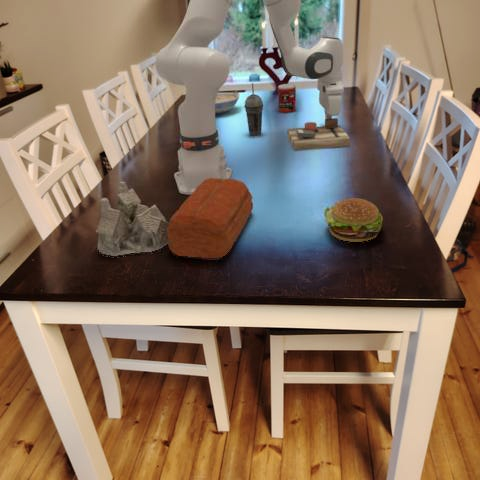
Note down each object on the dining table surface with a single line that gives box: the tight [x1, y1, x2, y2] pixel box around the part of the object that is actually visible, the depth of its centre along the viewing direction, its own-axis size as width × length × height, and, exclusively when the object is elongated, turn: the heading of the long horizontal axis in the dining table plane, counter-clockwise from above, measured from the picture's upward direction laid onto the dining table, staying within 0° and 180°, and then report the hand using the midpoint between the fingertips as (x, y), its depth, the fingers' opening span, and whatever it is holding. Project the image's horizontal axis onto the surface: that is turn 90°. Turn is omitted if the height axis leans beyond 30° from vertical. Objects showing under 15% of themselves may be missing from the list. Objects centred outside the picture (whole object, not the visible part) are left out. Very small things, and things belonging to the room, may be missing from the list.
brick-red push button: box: [304, 121, 318, 132], centre depth 173 cm, size 4×4×2 cm
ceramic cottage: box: [95, 181, 170, 256], centre depth 112 cm, size 16×16×15 cm
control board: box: [286, 124, 351, 152], centre depth 171 cm, size 16×20×4 cm
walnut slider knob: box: [324, 117, 339, 128], centre depth 173 cm, size 2×4×3 cm, turn 93°
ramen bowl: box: [215, 89, 246, 115], centre depth 214 cm, size 25×23×8 cm
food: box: [323, 197, 383, 243], centre depth 112 cm, size 14×14×8 cm
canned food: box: [277, 83, 297, 114], centre depth 207 cm, size 8×8×11 cm
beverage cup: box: [244, 82, 264, 138], centre depth 178 cm, size 7×7×20 cm
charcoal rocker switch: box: [296, 130, 315, 137], centre depth 166 cm, size 4×6×1 cm, turn 93°
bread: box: [167, 178, 254, 258], centre depth 115 cm, size 16×27×11 cm, turn 164°
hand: (328, 121), depth 177 cm, fingers closed
